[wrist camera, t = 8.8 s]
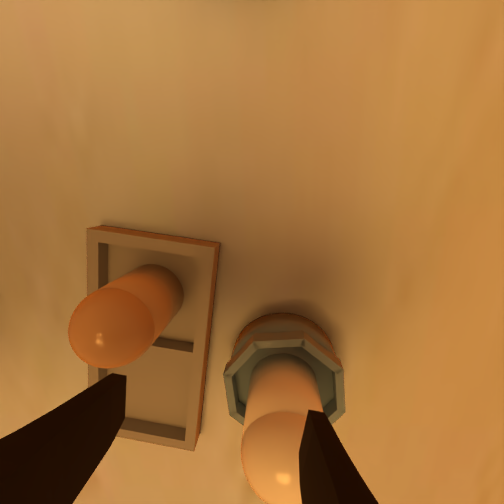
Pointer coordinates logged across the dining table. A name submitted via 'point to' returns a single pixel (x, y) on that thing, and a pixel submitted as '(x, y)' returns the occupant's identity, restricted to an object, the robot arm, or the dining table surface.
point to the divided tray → (169, 341)
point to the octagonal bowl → (290, 342)
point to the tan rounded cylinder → (277, 426)
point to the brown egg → (125, 316)
